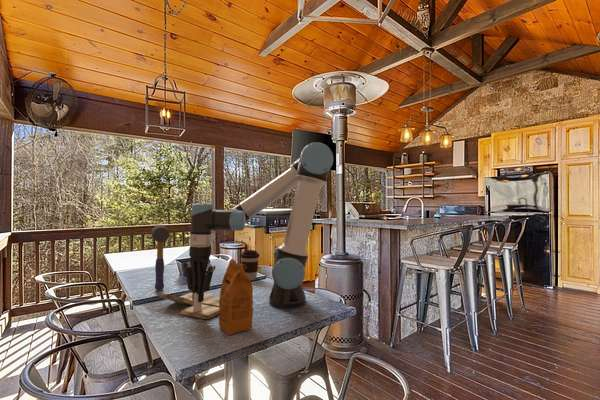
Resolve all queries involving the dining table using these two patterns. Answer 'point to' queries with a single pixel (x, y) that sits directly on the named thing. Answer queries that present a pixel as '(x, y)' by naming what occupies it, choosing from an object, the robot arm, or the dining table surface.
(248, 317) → the coffee package
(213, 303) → the wooden board
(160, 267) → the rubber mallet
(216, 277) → the dining table surface
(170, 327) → the dining table surface
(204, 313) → the plank
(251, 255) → the coffee cup
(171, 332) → the dining table surface
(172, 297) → the plank
